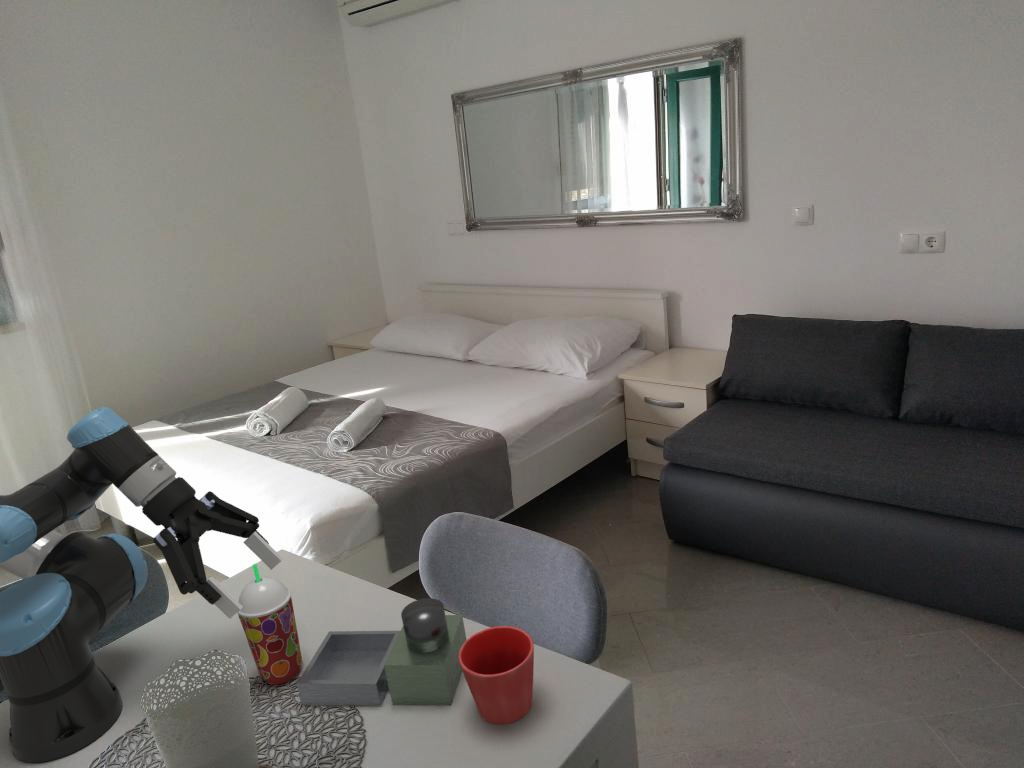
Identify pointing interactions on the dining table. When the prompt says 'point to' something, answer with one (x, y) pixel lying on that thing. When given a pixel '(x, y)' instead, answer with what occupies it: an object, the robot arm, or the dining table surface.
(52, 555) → the robot arm
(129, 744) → the dining table surface
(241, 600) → the smoothie
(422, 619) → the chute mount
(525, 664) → the flower pot
